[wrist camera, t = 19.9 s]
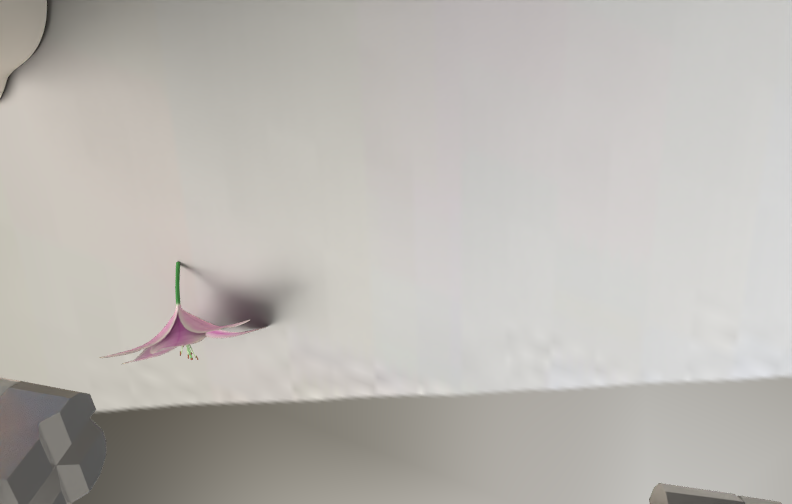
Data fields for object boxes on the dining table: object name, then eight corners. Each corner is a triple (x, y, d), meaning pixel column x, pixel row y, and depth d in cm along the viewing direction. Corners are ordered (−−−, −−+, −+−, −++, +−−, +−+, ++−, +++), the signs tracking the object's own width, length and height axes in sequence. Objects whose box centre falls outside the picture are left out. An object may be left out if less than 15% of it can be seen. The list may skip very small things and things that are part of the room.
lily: (134, 311, 59) (126, 415, 54) (85, 238, 49) (70, 358, 44) (270, 296, 60) (274, 397, 55) (249, 222, 50) (252, 338, 45)
